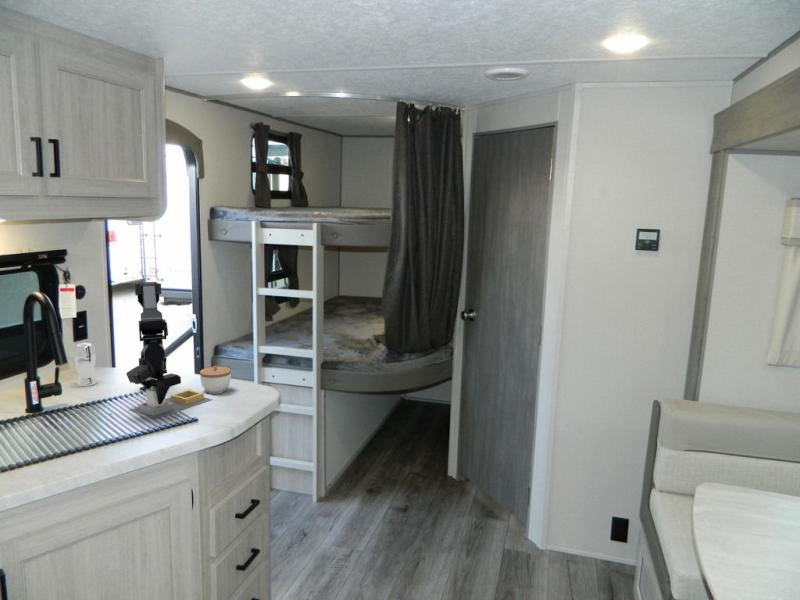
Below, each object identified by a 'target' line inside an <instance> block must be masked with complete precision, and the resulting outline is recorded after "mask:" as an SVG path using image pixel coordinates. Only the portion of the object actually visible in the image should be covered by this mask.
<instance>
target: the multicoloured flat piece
mask: <svg viewBox="0 0 800 600" xmlns="http://www.w3.org/2000/svg"><path fill="white" fill-rule="evenodd" d="M211 401H213V399H212V398H209V397H205V394H204V392H199V391H196V390H192V389H186V390H183V391H180V392H177V393H173V394H170V397H167V398H165V405H162V406H159V407H156V408H152V407H148V406H147V402H144V403H141V404H140V403H139V404H138V405H137V406H138V407H135V408H131V409H129V410H128V411H129V412H132V413H136V414H139V415H142V416H145V417H149V418H151V419H155V420H158V419H161V418H164V417H167V416H170V415H174V414H175V413H179V412H182V411H184V410H185V411H186V410H188V409H190V408H194V407H196V406H200V405H203V404H206V403H207V402H211Z"/></svg>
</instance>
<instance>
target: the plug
mask: <svg viewBox="0 0 800 600" xmlns="http://www.w3.org/2000/svg"><path fill="white" fill-rule="evenodd" d="M145 398H146V401H145V403H147V406H148V407H152V408H156V407H159V406H162V405H165V399H166V397H165V398H164V400H163V402H162V404H158V399H157V392H156V389H155V388H154V387H153V386H151V388H150V389H146V391H145Z"/></svg>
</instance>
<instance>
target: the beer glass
mask: <svg viewBox="0 0 800 600" xmlns="http://www.w3.org/2000/svg"><path fill="white" fill-rule="evenodd" d="M96 357H97V355H96V348H95V343H94V342H93V343H92V342H81V343H77V344H74V345H73V359H74V364H75V368H76V371H77V375H78V376H77V386H78V387H89V386H94V385H96V384H97V381H96V380H97V379H96V376H95V368H96V359H97V358H96Z"/></svg>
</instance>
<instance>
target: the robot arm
mask: <svg viewBox="0 0 800 600" xmlns="http://www.w3.org/2000/svg"><path fill="white" fill-rule="evenodd" d="M162 294H163V293H162V283H160V282H159V283H158V281H143V282H139V281H138V283H135V284H134V296H135V297H136V296H137V302H138V303H139V305H140V306H141V307H142V312H141V313H140V320H138V333H139V334H138V335H139V342H142V346H143V347H142V349H141V351H140V357H138V366H135V367H134V368H132V369H130V370H129V371H127V372H126V376H127V379H128V381H129V383H130V384H131V383H133V384H135V385H139V384H140V385H142V386H141V387H139V389H140V390H143V391H145V392H146V389H150V388H151V386H153V387H154V388H155V389H156V392H157V399H158V404H162V402H163V400H164V398H165V399H166V395H167V393H168V391H169V389H170V388H171V387H174V386H177V385H180V384H181V383H182V377H181V376H180V375H179V374H175V373H168V369H167V357H166V356H165V354H166V352H165V347H164V343H163V342H164V341H163V340H167V337H168V336H169V330H168V322H167V321H166V319H164V318H163V314H162V312H161V311H160V310H159V309H158V303H159V301H160V295H162ZM164 374H165V375H164Z"/></svg>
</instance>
